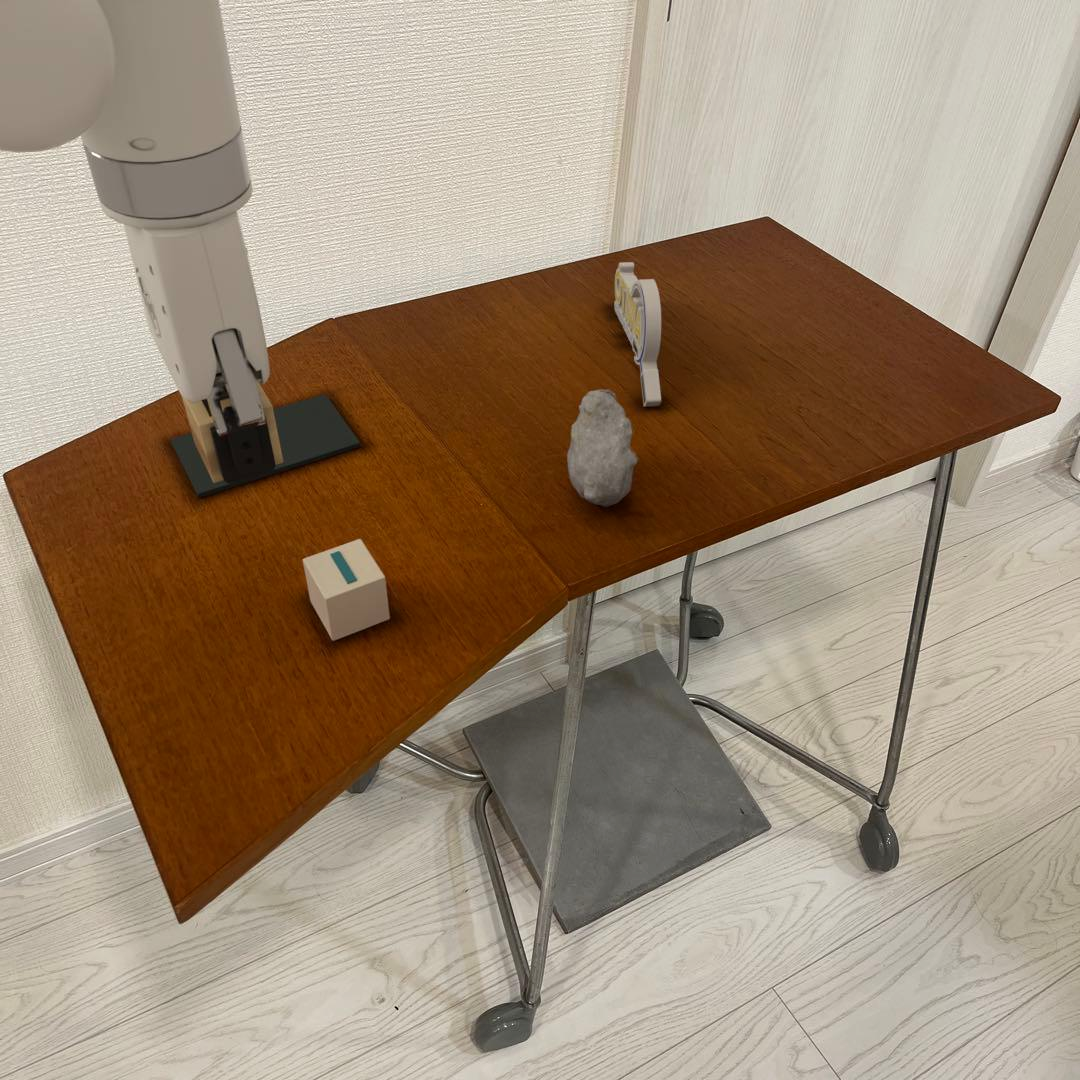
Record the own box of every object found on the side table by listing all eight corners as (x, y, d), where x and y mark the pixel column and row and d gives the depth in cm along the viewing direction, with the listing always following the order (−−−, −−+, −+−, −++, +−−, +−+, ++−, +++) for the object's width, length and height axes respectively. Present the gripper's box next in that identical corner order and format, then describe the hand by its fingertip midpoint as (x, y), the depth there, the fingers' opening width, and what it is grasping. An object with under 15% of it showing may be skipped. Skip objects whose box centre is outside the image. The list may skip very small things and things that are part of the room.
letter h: (213, 483, 62) (198, 424, 58) (194, 443, 64) (178, 384, 61) (283, 462, 63) (272, 404, 60) (261, 423, 66) (250, 366, 63)
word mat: (198, 498, 81) (197, 493, 81) (171, 443, 86) (170, 438, 86) (360, 447, 87) (360, 442, 86) (326, 398, 92) (325, 393, 91)
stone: (668, 515, 82) (684, 416, 75) (596, 543, 79) (606, 442, 72) (607, 450, 87) (616, 352, 80) (538, 474, 85) (542, 375, 78)
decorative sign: (612, 336, 106) (616, 241, 101) (624, 336, 106) (630, 241, 101) (645, 410, 91) (653, 304, 86) (660, 410, 92) (669, 303, 86)
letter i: (332, 641, 71) (325, 598, 68) (310, 601, 74) (301, 557, 71) (390, 619, 73) (385, 575, 70) (366, 580, 75) (360, 536, 72)
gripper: (62, 119, 55) (145, 395, 67) (133, 259, 44) (215, 554, 57) (200, 97, 57) (255, 366, 70) (298, 224, 47) (341, 513, 60)
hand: (236, 448), depth 63 cm, fingers closed on letter h, 4 cm apart
